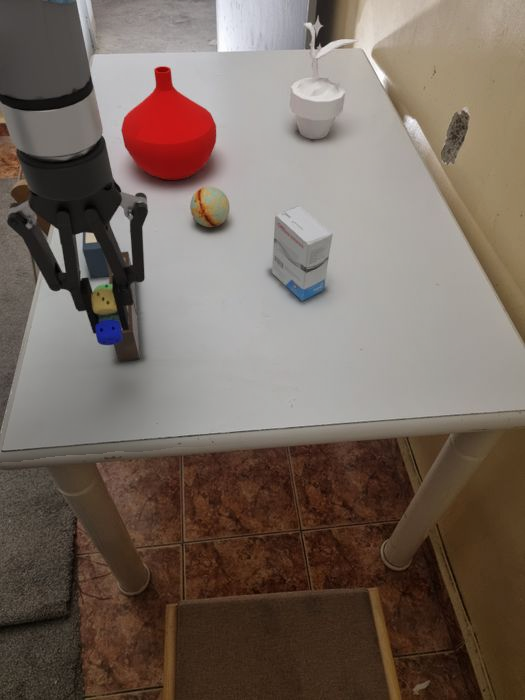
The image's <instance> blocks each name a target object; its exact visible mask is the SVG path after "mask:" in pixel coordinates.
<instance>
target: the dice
mask: <svg viewBox="0 0 525 700" xmlns="http://www.w3.org/2000/svg"><path fill="white" fill-rule="evenodd" d="M91 303H92V308H93V311H94V313H95V314H99V315H98V324H96V334H95V337H96V341H97V343H98V344H100V345H102V346H114V344H117V343H119V342H121V341H122V326H121V322H120V318H119V315H118V311H117V307H116V303H115V299H114V295H113V291H112V284H109V283H102V284H99V285H96V287H95V288H94V290H92V293H91Z"/></svg>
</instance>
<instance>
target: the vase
mask: <svg viewBox="0 0 525 700" xmlns="http://www.w3.org/2000/svg"><path fill="white" fill-rule="evenodd" d="M153 71H154V80H155V88H154V89H153V90H152V92H151V93H150V94H149V95H148V96H147V97H145V99H144V100H142V101H141V102H140V103H138V104H137V105H136V106H135V107H134V108H132V109H131V110H129V111H128V112H127V114H126V115H125V116H124V118H123V120H122V125H121V136H122V141H123V144H124V145H123V146H124V148H125V150H126V151H127V152H128V154H129V155H130V157H131V158H132V160H133V161H134V162H135V164H136V165H137V166H138V167H139V168H141V169H142V171H144V172H146V173H148V174H149V175H150V176H153V177H155V178H158V179H161V180H167V181H177V180H178V181H179V180H183V179H186V178H188V177H189V178H190V177H191V176H193V175H194V174H197V173H198V172H199V171H200V170H201V169H202V168H204V166H205V165H206V163H207V162H208V161H209V160H210V158H211V156H212V153H213V151H214V148H215V146H216V144H217V143H216V142H217V125H216V122H215V120H214V117H213V115H212V113H211V112H210V111H209V110H208V109H207V108H205V107H204V106H202V105H200V104H198V103H197V102H195V101H193V100H192V99H190V98H189V97H187V96H186V95H184V94H183V93H181V92H179V91H178V90H177V88H175V87H174V85H173V77H172V69H171V67H169V66H166V65H165V66H163V65H160V66H157V67H155V68H153Z"/></svg>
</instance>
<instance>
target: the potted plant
mask: <svg viewBox="0 0 525 700" xmlns="http://www.w3.org/2000/svg"><path fill="white" fill-rule="evenodd" d="M302 26H304V27H305V28H306V29H308V30H309V32H310V35H311V41H310V43H309V44H308V46H310V50H309V55H310V58H311V71H312V77H305V78H302V79H299V80H296V81H295V82H294V83H293V84H292V85H291V86H290V99H289V106H290V110H291V112H292V113H294V114H295V115H294V116H295V118H296V124H297V127H298V132H299V134H300V135H301V136H303V137H304V138H306V139H310V140H320V139H322V138H325V137H327V135H328V134H329V132H330V130H331V128H332V126H333V124H334V122H335V120H336V118H337V117H339V115H341V114H342V112H343V109H344V104H345V103H344V102H345V97H346V91H345V89H344V86H343V85H342V84H340V83H339V82H336V81H335V80H332V79H330V78H329V77H319V76H320V75H319V60H321V58H323V57H325V56H326V55H328V54H330V53H331V52H333V51H334V50H336V49H338V48H340V47H342V46H345V45H350V44H354V43H358V42H359V40H357V39H351V38H346V39H345V38H344V39H338V40H333V41H331V42H329V43H327V44H326V45H325V46H323V47H322V46H321V43H319V45H318V46H317V47H316V49H317V50H318V52H317V54H316V49H315V44H316V43H315V41H316V36H318V34H319V31H320V29H321V28H322V27H323V24H321V23H320V17H319V15H317V18H316V21H315V22H314V24H312V22H311V21H310V22H304V23H303V24H302Z"/></svg>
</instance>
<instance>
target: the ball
mask: <svg viewBox="0 0 525 700" xmlns="http://www.w3.org/2000/svg"><path fill="white" fill-rule="evenodd" d="M189 207H190V208H189V209H190V214H191V215H192V217H193V219H194V220H195V221H196V222H197V223H198V224H199V225H201V226H203V227H206V228H214V227H215V228H216V227H218V226H220V225H222V224H223V223H224V222H225V221H226V220H227V218H228V216H229V213H230V207H231V206H230V201H229V199H228V197H227V195H226V193H225V192H224V191H223V190H221V189H220V188H218V187H216V186H204V187H201V188H200V189H198V190H196V192H195V193H194V194H193V196H192V197H191V199H190V206H189Z"/></svg>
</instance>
